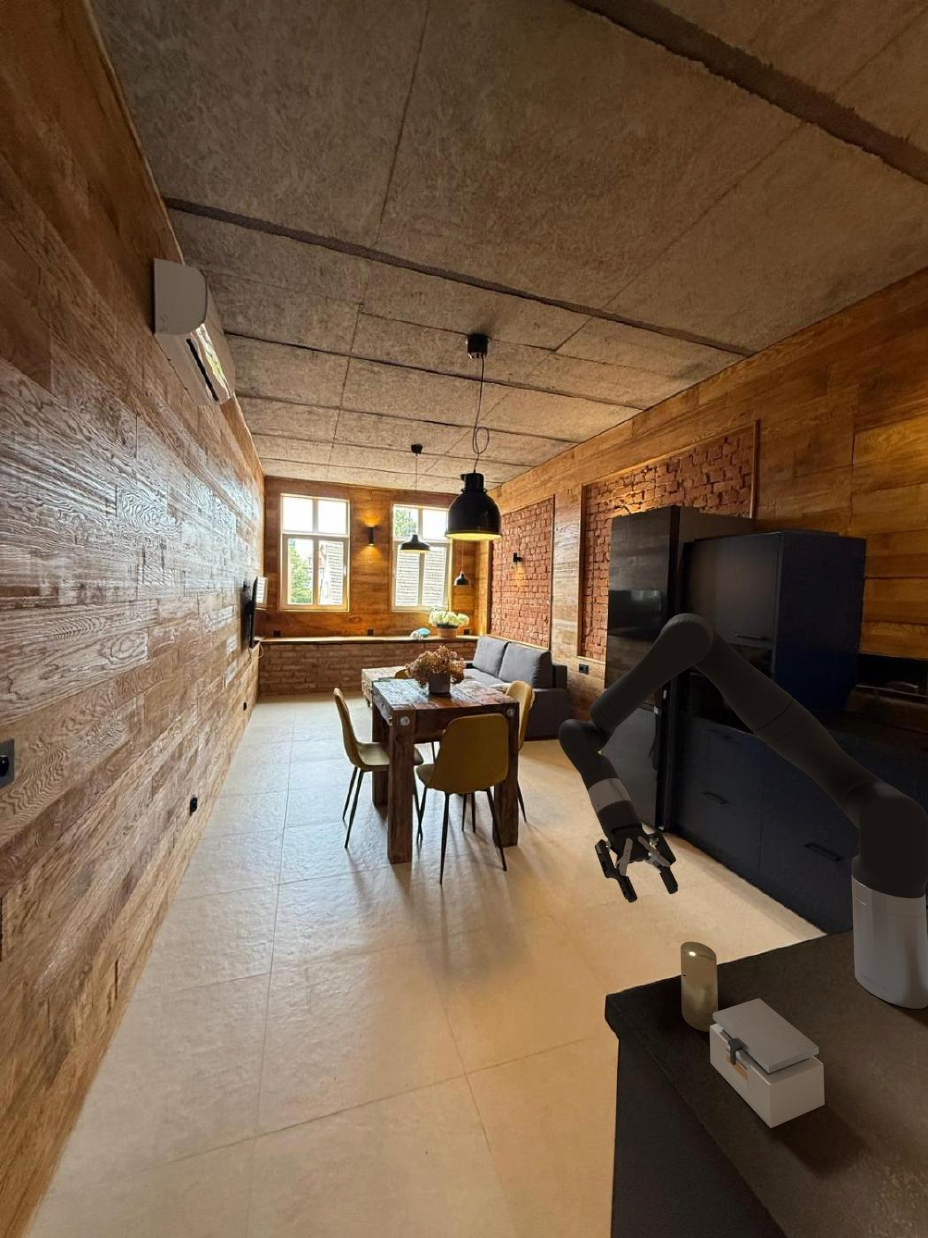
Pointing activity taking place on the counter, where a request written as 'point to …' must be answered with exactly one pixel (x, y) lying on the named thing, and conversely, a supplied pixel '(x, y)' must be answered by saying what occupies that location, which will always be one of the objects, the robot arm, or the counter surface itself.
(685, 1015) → the disc
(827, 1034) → the counter surface
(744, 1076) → the white latched box
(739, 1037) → the box lid
